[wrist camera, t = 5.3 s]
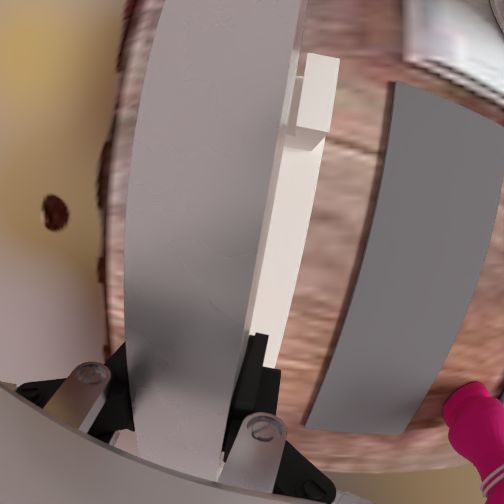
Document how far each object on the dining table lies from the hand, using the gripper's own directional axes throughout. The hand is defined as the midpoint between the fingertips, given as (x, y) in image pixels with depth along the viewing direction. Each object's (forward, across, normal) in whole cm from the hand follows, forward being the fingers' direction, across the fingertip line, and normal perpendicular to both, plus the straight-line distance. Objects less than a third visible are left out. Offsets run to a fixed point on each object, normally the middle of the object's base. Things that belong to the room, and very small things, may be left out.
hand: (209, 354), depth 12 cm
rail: (-1, 0, 0) cm, 1 cm away
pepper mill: (+14, -28, +13) cm, 33 cm away
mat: (+14, -14, +1) cm, 20 cm away
